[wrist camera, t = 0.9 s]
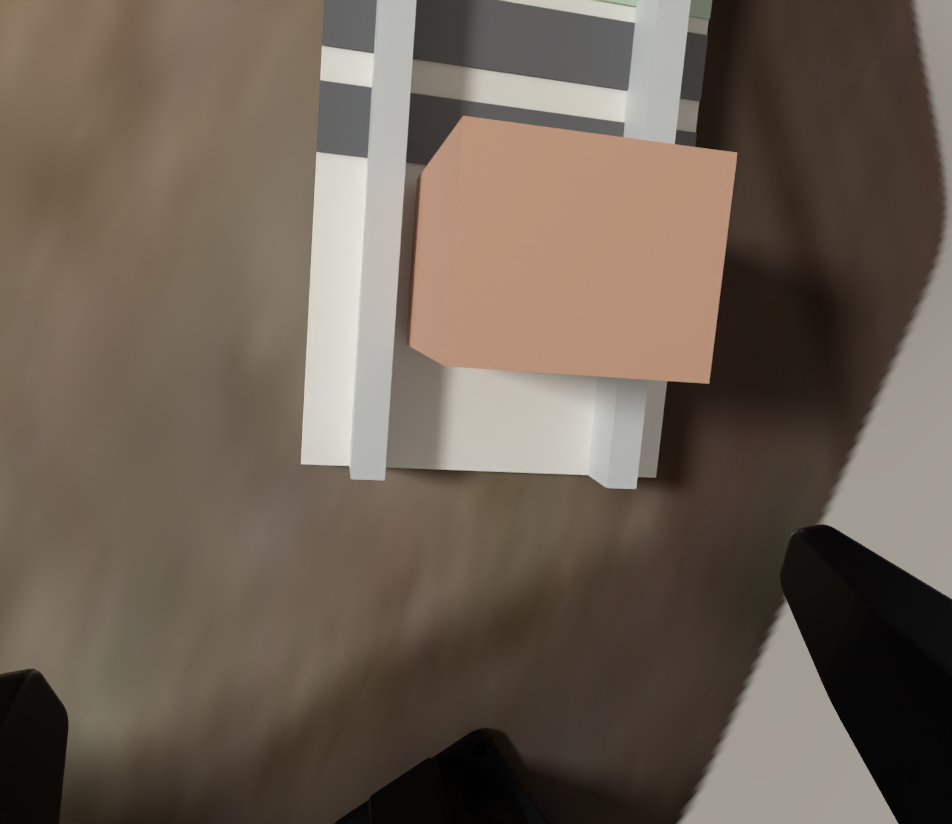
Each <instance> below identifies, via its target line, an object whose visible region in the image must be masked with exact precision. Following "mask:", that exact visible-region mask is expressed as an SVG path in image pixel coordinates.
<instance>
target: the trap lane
mask: <svg viewBox="0 0 952 824" xmlns="http://www.w3.org/2000/svg"><path fill="white" fill-rule="evenodd" d="M711 7H712V0H324V16H323V36H322V57H321V77H320V95H319V115H318V134H317V156H316V175H315V195H314V215H313V234H312V254H311V274H310V293H309V313H308V333H307V353H306V372H305V392H304V412H303V431H302V451H301V464H308V465H335V466H349V469H350V477H351V479H360V480H385V470H386V467H387V468H414V469H440V470H466V471H493V472H519V473H545V474H572V475H588V476H590V477H591V478H593V479H594V480H596V481H597V482H599V483H600V484H601V485H603V486H604V487H606V488H621V489H636V487H637V478H638V477H651V478H656V473H657V465H658V456H659V447H660V439H661V430H662V421H663V412H664V404H665V395H666V386H667V381H660V380H645V379H629V378H614V377H599V376H584V375H569V374H554V373H539V372H524V371H508V370H493V369H478V368H463V367H448V366H443V365H441V364H440V363H438V362H436V361H434V360H433V359H431V358H429V357H427V356H426V355H424V354H422V353H420V352H418V351H417V350H415V349H413V348H411V347H410V346H408V345H406V333H407V319H408V304H409V289H410V275H411V260H412V245H413V231H414V216H415V201H416V187H417V178H418V177H419V176H420V174H421V173H422V171H423V170H424V169H425V167H426V166H427V165H428V163H429V162H430V161H431V159H432V158H433V156H434V155H435V154H436V152H437V151H438V150H439V148H440V147H441V145H442V144H443V143H444V141H445V140H446V139H447V137H448V136H449V135H450V133H451V132H452V130H453V129H454V128H455V126H456V125H457V124H458V122H459V121H460V120H461V118H462V117H463V116H470V117H477V118H484V119H492V120H499V121H507V122H514V123H521V124H529V125H536V126H544V127H551V128H559V129H566V130H573V131H581V132H588V133H596V134H603V135H610V136H618V137H625V138H633V139H640V140H647V141H655V142H662V143H670V144H677V145H684V146H692V147H695V146H696V137H697V133H696V125H697V117H698V108H699V101H701V94H702V85H703V77H704V68H705V59H706V51H707V42H708V35H707V30H708V21H709V19H710V16H711Z"/></svg>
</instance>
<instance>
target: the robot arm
mask: <svg viewBox="0 0 952 824" xmlns="http://www.w3.org/2000/svg"><path fill="white" fill-rule="evenodd" d="M780 580H781V586H782V589H783V592H784V595H785V597H786V599H787V602H788V604H789V606H790V609H791V611H792V613H793V615H794V618H795V620H796V622H797V625H798V627H799V629H800V632H801V634H802V637H803V639H804V641H805V644H806V646H807V648H808V651H809V653H810V655H811V657H812V660H813V662H814V665H815V667H816V669H817V672H818V674H819V676H820V678H821V681H822V683H823V685H824V688H825V690H826V692H827V694H828V696H829V698H830V700H831V702H832V705H833V706H834V708H835V710H836V712H837V714H838V716H839V718H840V720H841V721H842V723H843V725H844V727H845V729H846V730H847V732H848V734H849V736H850V738H851V739H852V741H853V743H854V745H855V747H856V748H857V750H858V752H859V754H860V756H861V757H862V759H863V761H864V763H865V764H866V766H867V768H868V770H869V772H870V773H871V775H872V777H873V779H874V781H875V782H876V784H877V786H878V788H879V790H880V791H881V793H882V795H883V797H884V798H885V800H886V802H887V804H888V806H889V807H890V809H891V811H892V813H893V815H894V816H895V818H896V820H897V822H898V823H899V824H952V599H951V598H949V597H947V596H946V595H944V594H942V593H941V592H939V591H937V590H936V589H934V588H932V587H931V586H929V585H927V584H926V583H924V582H922V581H921V580H919V579H917V578H916V577H914V576H913V575H911V574H909V573H908V572H906V571H904V570H902V569H901V568H899V567H898V566H896V565H894V564H893V563H891V562H889V561H888V560H886V559H884V558H883V557H881V556H879V555H878V554H876V553H874V552H873V551H871V550H869V549H868V548H866V547H865V546H863V545H861V544H860V543H858V542H856V541H855V540H853V539H851V538H849V537H848V536H846V535H845V534H843V533H841V532H840V531H838V530H836V529H835V528H833V527H830V526H828V525H816V526H810V527H805V528H799V529H797V530H795V531H794V532H793V533H792V534H791V536H790V540H789V543H788V547H787V550H786V554H785V557H784V561H783V564H782V568H781V573H780ZM67 737H68V716H67V712H66V709H65V707H64V705H63V704H62V702H61V701H60V699H59V698H58V696H57V695H56V694H55V692H54V691H53V689H52V688H51V686H50V685H49V684H48V682H47V681H46V679H45V678H44V676H43V675H42V674H41V673H40V672H39V671H37V670H35V669H25V670H20V671H14V672H9V673H3V674H0V824H59V818H60V807H61V797H62V787H63V777H64V767H65V757H66V747H67ZM477 743H484V746H483V747H482V748H480V749H478V750H477V749H473V747H474V746H475V745H476V744H477ZM335 824H548V823H547V822H546V820H545V819H544V817H543V816H542V814H541V813H540V811H539V810H538V808H537V807H536V805H535V804H534V802H533V801H532V799H531V798H530V796H529V795H528V793H527V792H526V790H525V789H524V787H523V785H522V784H521V782H520V781H519V779H518V778H517V776H516V775H515V773H514V772H513V770H512V769H511V767H510V766H509V764H508V763H507V761H506V760H505V758H504V757H503V755H502V754H501V752H500V751H499V749H498V748H497V746H496V745H495V743H494V742H493V740H492V739H491V737H490V736H489V734H488V733H486V732H485V731H482V730H475V731H473V732H471V733H469V734H468V735H466V736H465V737H463V738H462V739H460V740H459V741H457V742H456V743H454V744H453V745H451V746H450V747H448V748H447V749H445V750H444V751H442V752H441V753H439V754H438V755H436V756H434V757H433V758H427V759H426V760H424V761H423V762H421V763H420V764H418V765H417V766H415V767H414V768H412V769H411V770H409V771H408V772H406V773H405V774H403V775H402V776H400V777H399V778H397V779H396V780H394V781H393V782H391V783H389V784H388V785H386V786H385V787H383V788H382V789H380V790H379V791H377V792H376V793H374V794H373V795H372V796H371V797H370V800H368V801H367V802H365V803H363V804H362V805H360V806H359V807H357V808H356V809H354V810H353V811H351V812H350V813H348V814H347V815H345V816H344V817H342V818H341V819H339V820H338V821H337V822H336V823H335Z"/></svg>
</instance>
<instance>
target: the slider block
mask: <svg viewBox="0 0 952 824" xmlns="http://www.w3.org/2000/svg"><path fill="white" fill-rule="evenodd" d="M736 161H737V153H736V152H729V151H721V150H714V149H707V148H699V147H692V146H684V145H677V144H670V143H662V142H655V141H647V140H640V139H633V138H625V137H618V136H610V135H603V134H596V133H588V132H581V131H573V130H566V129H559V128H551V127H544V126H536V125H529V124H521V123H514V122H507V121H499V120H492V119H484V118H477V117H470V116H463V117H462V118H461V120H460V121H459V122H458V124H457V125H456V126H455V128H454V129H453V130H452V132H451V133H450V135H449V136H448V137H447V139H446V140H445V141H444V143H443V144H442V145H441V147H440V148H439V150H438V151H437V152H436V154H435V155H434V156H433V158H432V159H431V161H430V162H429V163H428V165H427V166H426V167H425V169H424V170H423V171H422V173H421V174H420V176H419V177H418V178H417V187H416V201H415V216H414V231H413V245H412V260H411V275H410V289H409V304H408V319H407V333H406V345H408V346H410V347H411V348H413V349H415V350H417V351H418V352H420V353H422V354H424V355H426V356H427V357H429V358H431V359H433V360H434V361H436V362H438V363H440V364H441V365H443V366H448V367H463V368H478V369H493V370H508V371H524V372H539V373H554V374H569V375H584V376H599V377H614V378H629V379H645V380H660V381H675V382H690V383H705V384H709V381H710V373H711V365H712V357H713V348H714V340H715V332H716V324H717V316H718V308H719V299H720V291H721V283H722V275H723V267H724V259H725V250H726V242H727V234H728V226H729V218H730V210H731V201H732V193H733V185H734V177H735V169H736Z"/></svg>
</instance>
